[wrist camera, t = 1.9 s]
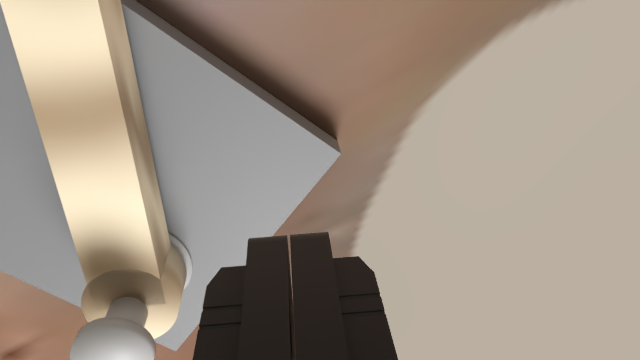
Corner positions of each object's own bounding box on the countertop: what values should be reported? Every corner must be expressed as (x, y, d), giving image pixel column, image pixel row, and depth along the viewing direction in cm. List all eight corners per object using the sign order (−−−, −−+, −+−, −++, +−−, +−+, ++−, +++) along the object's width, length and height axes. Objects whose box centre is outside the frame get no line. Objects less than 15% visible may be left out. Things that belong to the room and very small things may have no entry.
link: (192, 301, 26) (185, 338, 23) (109, 308, 25) (93, 346, 23) (109, -126, 17) (86, -131, 15) (-15, -121, 17) (-58, -125, 15)
